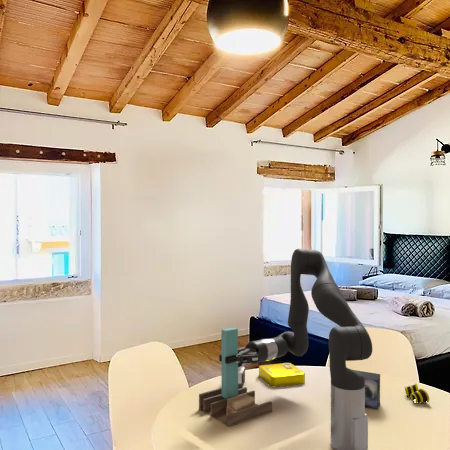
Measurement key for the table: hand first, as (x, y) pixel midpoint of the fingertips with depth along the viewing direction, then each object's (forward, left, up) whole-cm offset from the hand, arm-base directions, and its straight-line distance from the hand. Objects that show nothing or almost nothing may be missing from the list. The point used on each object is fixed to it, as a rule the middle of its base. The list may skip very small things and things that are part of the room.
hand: (222, 359), depth 144 cm
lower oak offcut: (-6, -3, -16) cm, 18 cm away
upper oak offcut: (-6, -3, -14) cm, 16 cm away
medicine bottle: (+16, -18, -18) cm, 30 cm away
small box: (-23, -44, -18) cm, 53 cm away
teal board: (0, -3, -13) cm, 13 cm away
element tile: (+12, -39, -19) cm, 45 cm away
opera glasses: (-32, -63, -18) cm, 72 cm away
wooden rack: (-3, -3, -18) cm, 18 cm away
